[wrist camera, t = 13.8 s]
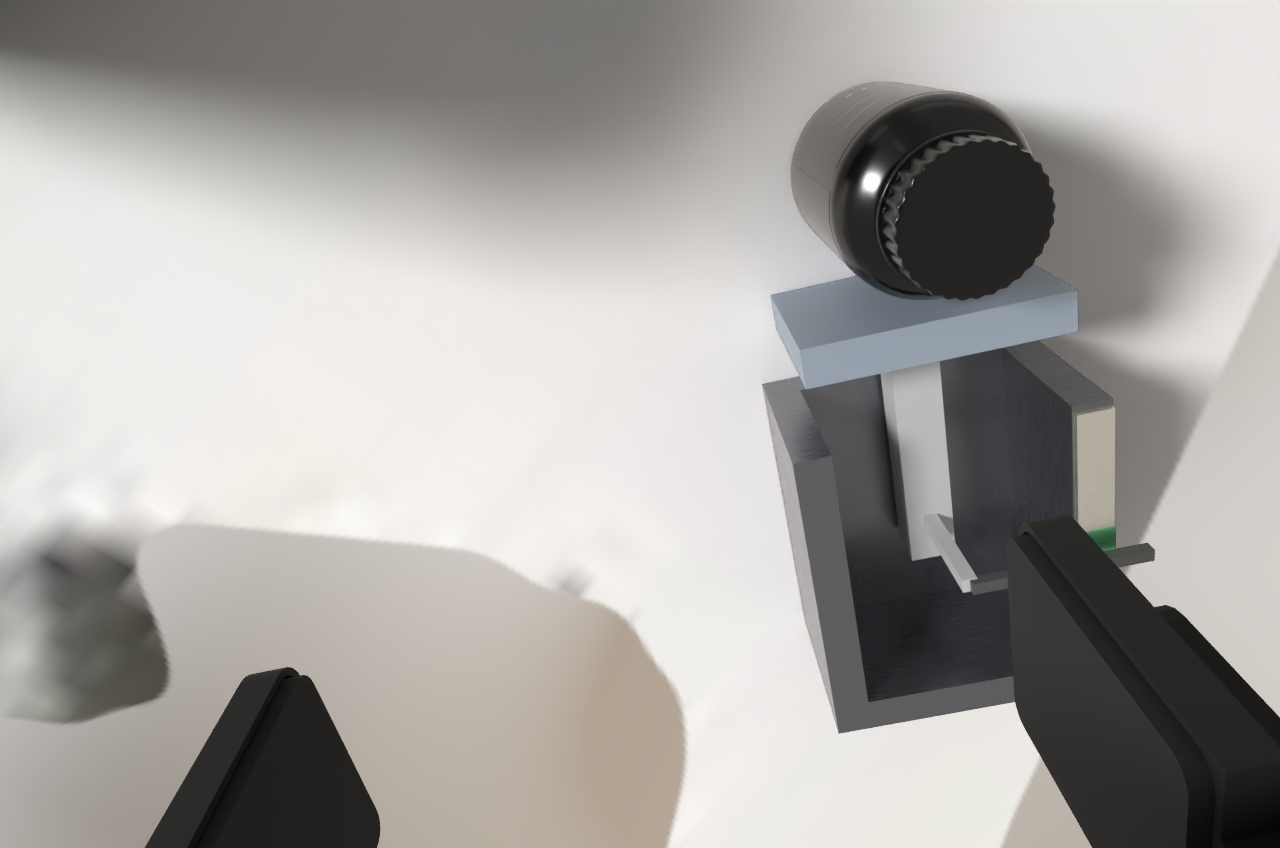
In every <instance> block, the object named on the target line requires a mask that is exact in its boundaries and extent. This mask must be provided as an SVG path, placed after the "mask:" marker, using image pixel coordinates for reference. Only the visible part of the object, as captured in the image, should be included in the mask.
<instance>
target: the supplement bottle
mask: <svg viewBox="0 0 1280 848" xmlns="http://www.w3.org/2000/svg"><path fill="white" fill-rule="evenodd" d="M791 185H792V191H793V196H794V199H795V202H796V205H797V207H798V210H799V212H800V214H801V215H802V217H803V219H804V220H805V222H806V223H807V224H808V226H809V227H810V228H811V229H812V230H813V232H814V233H815V234H816V235H817V236H818V237H819V238H820V239H821V240H822V241H823V242H824V243H825V244H826V245H827V246H828V247H829V248H830V249H831V250H832V251H833V252H834V253H835V254H836V255H837V256H838V257H839V258H840V259H841V260H842V261H843V262H844V263H845V264H846V265H847V266H848V267H849V268H850V269H851V270H852V271H853V272H854V273H855V274H856V275H857V276H858V277H859V278H860V279H862V280H863V281H864V282H866V283H867V284H869V285H870V286H872V287H873V288H875V289H877V290H879V291H881V292H883V293H885V294H888V295H891V296H894V297H898V298H902V299H909V300H933V299H939V298H945V299H947V300H948V299H954V298H956V299H958V300H961V301H963V300H967V299H969V298H973V299H979V298H981V297H983V296H985V295H993V294H995V293H996V292H997V291H998V290H1000V289H1005V288H1008V287H1009V286H1010V284H1011V283H1012V282H1013V281H1015V280H1018V279H1020V278H1021V277H1022V276H1023V274H1024V272H1025V271H1026V270H1028V269H1029V268H1031V267H1032V266H1033V264H1034V262H1035V259H1036V258H1037V257H1038V256H1039V255H1040V254H1041V253H1042V251H1043V247H1044V244H1045V243H1046V242H1047V241H1048V239H1049V237H1050V229H1051V227H1052V225H1053V223H1054V218H1053V213H1054V210H1055V203H1054V202H1053V193H1054V191H1053V189H1052V188H1051V187H1050V185H1049V176H1048V175H1047V174H1046V173H1044V172H1043V169H1042V165H1041V163H1040V162H1038V161H1036V160H1034V158H1033V155H1032V151H1031V149H1030V146H1029V144H1028V142H1027V140H1026V138H1025V136H1024V134H1023V133H1022V131H1021V130H1020V128H1019V127H1018V126H1017V125H1016V123H1015V122H1014V121H1013V120H1012V119H1011V118H1010V117H1009V116H1008V115H1007V114H1006V113H1005V112H1003V111H1002V110H1001V109H999V108H998V107H996V106H995V105H993V104H991V103H989V102H987V101H985V100H982V99H980V98H977V97H974V96H971V95H968V94H964V93H959V92H952V91H946V90H940V89H934V88H928V87H921V86H915V85H909V84H903V83H895V82H872V83H866V84H862V85H858V86H855V87H852V88H850V89H847V90H845V91H843V92H841V93H839V94H838V95H836V96H834V97H833V98H832V99H830V100H829V101H828V102H826V103H825V104H824V105H823V106H822V107H821V108H820V109H819V110H818V111H817V112H816V113H815V114H814V115H813V116H812V118H811V119H810V120H809V122H808V123H807V125H806V126H805V128H804V129H803V131H802V133H801V135H800V137H799V139H798V142H797V144H796V147H795V151H794V154H793V159H792V166H791Z"/></svg>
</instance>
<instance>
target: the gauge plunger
mask: <svg viewBox="0 0 1280 848" xmlns="http://www.w3.org/2000/svg"><path fill="white" fill-rule="evenodd" d="M771 301H772V307H773V313H774V319H775V325H776V330H777V332H778V334H779V336H780V338H781V340H782V342H783V344H784V346H785V348H786V350H787V352H788V354H789V356H790V358H791V360H792V362H793V364H794V366H795V368H796V370H797V372H798V374H799V377H800V379H801V381H802V383H803V385H804V387H805V389H811V388H815V387H820V386H825V385H829V384H834V383H839V382H843V381H848V380H853V379H858V378H862V377H867V376H872V375H876V374H881V382H882V391H883V399H884V408H885V416H886V425H887V433H888V442H889V451H890V459H891V468H892V476H893V485H894V493H895V502H896V510H897V519H898V528H899V536H900V539H901V541H902V543H903V545H904V547H905V548H906V550H907V552H908V554H909V556H910V558H911V560H912V561H914V560H920V559H925V558H930V557H935V556H940V555H941V556H942V558H943V560H944V561H945V563H946V565H947V566H948V568H949V570H950V571H951V573H952V575H953V576H954V578H955V580H956V582H957V583H958V585H959V587H960V588H961V590H962V592H963V593H965V592H970V591H971V592H972V593H973V595H976V594H981V593H986V592H991V591H997V590H1002V589H1007V588H1008V573H1007V570H1003V571H998V572H993V573H988V574H983V575H977V576H976V575H975V573H974V572H973V570H972V568H971V567H970V565H969V564H968V562H967V561H966V559H965V557H964V556H963V554H962V553H961V551H960V550H959V548H958V546H957V545H956V543H955V536H954V525H953V513H952V501H951V489H950V478H949V466H948V454H947V442H946V431H945V419H944V407H943V396H942V384H941V372H940V361H942V360H947V359H952V358H957V357H961V356H966V355H971V354H975V353H980V352H985V351H989V350H994V349H999V348H1004V347H1008V346H1013V345H1018V344H1022V343H1027V342H1032V341H1037V340H1041V339H1046V338H1051V337H1055V336H1060V335H1065V334H1070V333H1074V332H1078V290H1077V289H1075V288H1073V287H1072V286H1070V285H1068V284H1067V283H1065V282H1063V281H1061V280H1060V279H1058V278H1056V277H1055V276H1053V275H1051V274H1050V273H1048V272H1046V271H1045V270H1043V269H1041V268H1040V267H1038V266H1036V265H1035V264H1033V266H1032V267H1031V268H1029V269H1028V270H1026V271H1025V272H1024V274H1023V276H1022V277H1021V278H1020V279H1018V280H1015V281H1013V282H1012V283H1011V284H1010V286H1009V287H1008V288H1005V289H1000V290H998V291H997V292H996V293H995V294H993V295H985V296H983V297H981V298H979V299H973V298H969V299H967V300H963V301H961V300H958V299H956V298H954V299H948V300H947V299H945V298H939V299H933V300H909V299H902V298H898V297H894V296H891V295H888V294H885V293H883V292H881V291H879V290H877V289H875V288H873V287H872V286H870V285H869V284H867V283H866V282H864V281H863V280H862V279H860V278H859V277H858V276H854V277H850V278H845V279H841V280H836V281H832V282H827V283H823V284H818V285H814V286H809V287H805V288H800V289H796V290H791V291H787V292H782V293H778V294H773V295H771ZM1104 552H1105V553H1106V555H1107V556H1108V557H1109V558H1110V559H1111V560H1112V561H1113V562H1114V563H1115V565H1116V566H1117V567H1123V566H1128V565H1133V564H1138V563H1144V562H1149V561H1154V557H1155V556H1154V555H1155V550H1154V549H1153V548H1152V547H1151V546H1150V545H1149V544H1148V543H1144V544H1139V545H1134V546H1128V547H1123V548H1118V549H1113V550H1108V551H1104Z"/></svg>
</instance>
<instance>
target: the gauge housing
mask: <svg viewBox="0 0 1280 848" xmlns="http://www.w3.org/2000/svg"><path fill="white" fill-rule="evenodd" d="M940 372H941V384H942V396H943V407H944V419H945V431H946V442H947V454H948V466H949V478H950V489H951V501H952V513H953V525H954V536H955V543H956V545H957V546H958V548H959V550H960V551H961V553H962V554H963V556H964V557H965V559H966V561H967V562H968V564H969V565H970V567H971V568H972V570H973V572H974V573H975V575H976V576H977V575H983V574H988V573H993V572H998V571H1003V570H1007V555H1006V542H1007V539H1008V538H1009V537H1014V536H1019V528H1020V525H1021V524H1022V523H1026V522H1031V521H1036V520H1041V519H1046V518H1051V517H1056V516H1061V515H1070V516H1071V517H1072V518H1074V519H1075V520H1076V521H1077V522H1078V524H1079V525H1080V526H1081V527H1082V528H1083V529H1084V530H1085V531H1086V532H1087V534H1088V535H1089V536H1090V537H1091V538H1092V539H1093V540H1094V541H1095V542H1096V544H1097V545H1098V546H1099V547H1100V548H1101V549H1102V550H1103V551H1108V550H1113V549H1116V527H1115V407H1114V406H1113V398H1112V397H1110V396H1109V395H1108V394H1106V393H1105V392H1104V391H1103V390H1101V389H1100V388H1099V387H1097V386H1096V385H1095V384H1094V383H1092V382H1091V381H1090V380H1088V379H1087V378H1086V377H1085V376H1083V375H1082V374H1081V373H1079V372H1078V371H1077V370H1075V369H1074V368H1073V367H1072V366H1070V365H1069V364H1068V363H1066V362H1065V361H1064V360H1063V359H1061V358H1060V357H1059V356H1057V355H1056V354H1055V353H1053V352H1052V351H1051V350H1050V349H1048V348H1047V347H1046V346H1044V345H1043V344H1042V343H1041V342H1039V341H1038V340H1037V341H1032V342H1027V343H1022V344H1018V345H1013V346H1008V347H1004V348H999V349H994V350H989V351H985V352H980V353H975V354H971V355H966V356H961V357H957V358H952V359H947V360H942V361H940ZM762 385H763V391H764V396H765V402H766V407H767V413H768V419H769V424H770V430H771V435H772V441H773V446H774V452H775V457H776V463H777V468H778V474H779V480H780V485H781V491H782V496H783V502H784V507H785V513H786V518H787V524H788V529H789V535H790V541H791V546H792V552H793V557H794V563H795V568H796V574H797V579H798V585H799V590H800V596H801V602H802V607H803V613H804V618H805V623H806V626H807V629H808V633H809V636H810V639H811V643H812V646H813V649H814V653H815V656H816V659H817V663H818V666H819V669H820V673H821V676H822V679H823V683H824V686H825V689H826V693H827V696H828V699H829V703H830V706H831V709H832V713H833V716H834V719H835V723H836V726H837V729H838V733H844V732H850V731H856V730H861V729H867V728H872V727H878V726H883V725H889V724H894V723H900V722H906V721H911V720H917V719H922V718H928V717H933V716H939V715H944V714H950V713H956V712H961V711H967V710H972V709H978V708H983V707H989V706H994V705H1000V704H1006V703H1011V702H1015V696H1014V680H1013V663H1012V645H1011V627H1010V609H1009V591H1008V588H1007V589H1002V590H997V591H991V592H986V593H981V594H976V595H973V593H972V592H971V591H970V592H965V593H963V592H962V590H961V588H960V587H959V585H958V583H957V582H956V580H955V578H954V576H953V575H952V573H951V571H950V570H949V568H948V566H947V565H946V563H945V561H944V560H943V558H942V556H941V555H940V556H935V557H930V558H925V559H920V560H914V561H912V560H911V558H910V556H909V554H908V552H907V550H906V548H905V547H904V545H903V543H902V541H901V539H900V536H899V528H898V519H897V510H896V502H895V493H894V485H893V476H892V468H891V459H890V451H889V442H888V433H887V425H886V416H885V408H884V399H883V391H882V382H881V374H876V375H872V376H867V377H862V378H858V379H853V380H848V381H843V382H839V383H834V384H829V385H825V386H820V387H815V388H811V389H805V387H804V385H803V383H802V381H801V379H800V377H795V378H790V379H785V380H781V381H776V382H771V383H767V384H762Z"/></svg>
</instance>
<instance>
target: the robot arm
mask: <svg viewBox="0 0 1280 848" xmlns="http://www.w3.org/2000/svg"><path fill="white" fill-rule="evenodd" d="M1006 555H1007V573H1008V591H1009V609H1010V627H1011V645H1012V663H1013V680H1014V696H1015V703H1016V707H1017V710H1018V714H1019V716H1020V719H1021V722H1022V724H1023V726H1024V728H1025V729H1026V731H1027V733H1028V735H1029V737H1030V738H1031V740H1032V742H1033V744H1034V745H1035V747H1036V749H1037V751H1038V752H1039V754H1040V756H1041V758H1042V760H1043V761H1044V763H1045V765H1046V767H1047V768H1048V770H1049V772H1050V774H1051V775H1052V777H1053V779H1054V781H1055V782H1056V784H1057V786H1058V788H1059V790H1060V791H1061V793H1062V795H1063V797H1064V798H1065V800H1066V802H1067V804H1068V805H1069V807H1070V809H1071V811H1072V813H1073V814H1074V816H1075V818H1076V819H1077V821H1078V823H1079V825H1080V827H1081V828H1082V830H1083V832H1084V834H1085V836H1086V837H1087V839H1088V841H1089V843H1090V844H1091V846H1092V848H1280V717H1279V716H1278V715H1277V714H1276V713H1275V712H1274V711H1273V710H1272V709H1271V708H1270V707H1269V706H1268V705H1267V704H1266V703H1265V702H1264V700H1263V699H1262V698H1261V697H1260V696H1259V695H1258V694H1257V693H1256V692H1255V691H1254V690H1253V689H1252V688H1251V687H1250V685H1249V684H1248V683H1247V682H1246V681H1245V680H1244V679H1243V678H1242V677H1241V676H1240V675H1239V674H1238V673H1237V672H1236V671H1235V670H1234V668H1233V667H1232V666H1231V665H1230V664H1229V663H1228V662H1227V661H1226V660H1225V659H1224V658H1223V657H1222V656H1221V655H1220V654H1219V653H1218V651H1217V650H1216V649H1215V648H1214V647H1213V646H1212V645H1211V644H1210V643H1209V642H1208V641H1207V640H1206V639H1205V638H1204V637H1203V635H1202V634H1200V632H1199V631H1198V630H1197V629H1196V628H1195V627H1194V626H1193V625H1192V624H1191V623H1190V622H1189V621H1188V620H1187V618H1186V617H1185V616H1183V615H1182V614H1181V613H1180V612H1179V611H1177V610H1176V609H1175V608H1173V607H1170V606H1167V605H1164V606H1159V607H1153V606H1152V604H1151V603H1150V602H1149V601H1148V600H1147V599H1146V598H1145V597H1144V596H1143V595H1142V594H1141V592H1140V591H1139V590H1138V589H1137V588H1136V587H1135V586H1134V585H1133V583H1132V582H1131V581H1130V580H1129V579H1128V578H1127V577H1126V576H1125V575H1124V573H1123V572H1122V571H1121V570H1120V569H1119V568H1118V567H1117V566H1116V565H1115V563H1114V562H1113V561H1112V560H1111V559H1110V558H1109V557H1108V556H1107V555H1106V553H1105V552H1104V551H1103V550H1102V549H1101V548H1100V547H1099V546H1098V545H1097V544H1096V542H1095V541H1094V540H1093V539H1092V538H1091V537H1090V536H1089V535H1088V534H1087V532H1086V531H1085V530H1084V529H1083V528H1082V527H1081V526H1080V525H1079V524H1078V522H1077V521H1076V520H1075V519H1074V518H1072V517H1071V516H1070V515H1061V516H1056V517H1051V518H1046V519H1041V520H1036V521H1031V522H1026V523H1022V524H1021V525H1020V528H1019V536H1014V537H1009V538H1008V539H1007V542H1006ZM379 837H380V821H379V816H378V812H377V810H376V808H375V806H374V804H373V802H372V800H371V798H370V796H369V794H368V792H367V790H366V788H365V786H364V784H363V782H362V780H361V778H360V776H359V774H358V772H357V770H356V768H355V766H354V764H353V761H352V759H351V757H350V755H349V754H348V751H347V749H346V747H345V745H344V743H343V741H342V739H341V737H340V735H339V734H338V731H337V730H336V727H335V725H334V723H333V721H332V719H331V717H330V716H329V713H328V712H327V709H326V707H325V705H324V703H323V701H322V699H321V697H320V695H319V693H318V691H317V689H316V687H315V685H314V683H313V682H312V680H311V679H310V678H309V677H308V676H305V675H302V676H300V675H299V674H298V672H297V671H296V670H294V669H293V668H289V667H286V668H281V669H276V670H271V671H266V672H261V673H256V674H251V675H248V676H247V677H245V678H244V679H243V680H242V682H241V683H240V685H239V687H238V688H237V690H236V692H235V693H234V695H233V697H232V698H231V700H230V702H229V704H228V706H227V707H226V709H225V711H224V712H223V714H222V716H221V717H220V719H219V721H218V723H217V724H216V726H215V728H214V729H213V732H212V733H211V735H210V736H209V738H208V740H207V742H206V743H205V745H204V747H203V748H202V750H201V752H200V754H199V755H198V757H197V759H196V761H195V762H194V764H193V766H192V767H191V769H190V771H189V772H188V774H187V776H186V778H185V780H184V781H183V783H182V785H181V786H180V788H179V790H178V791H177V793H176V795H175V797H174V798H173V800H172V802H171V804H170V805H169V807H168V809H167V810H166V812H165V814H164V816H163V817H162V819H161V821H160V823H159V824H158V826H157V828H156V829H155V831H154V833H153V835H152V836H151V838H150V840H149V842H148V843H147V845H146V847H145V848H377V845H378V842H379Z"/></svg>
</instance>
